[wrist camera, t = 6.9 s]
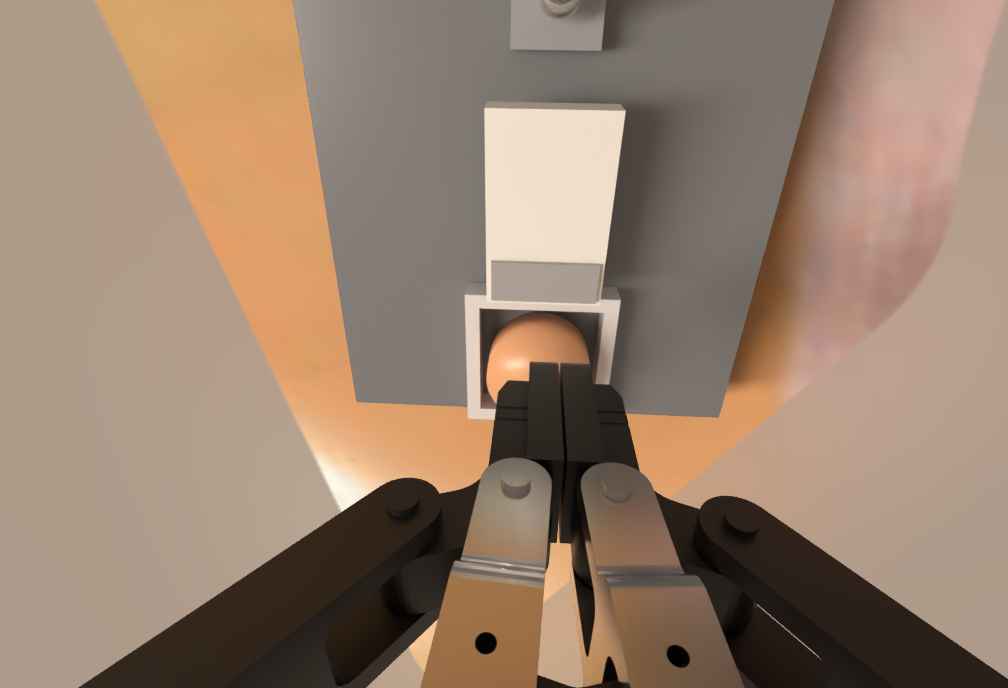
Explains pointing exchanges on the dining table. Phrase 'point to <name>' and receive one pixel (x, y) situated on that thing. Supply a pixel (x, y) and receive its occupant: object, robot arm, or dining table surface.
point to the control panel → (638, 193)
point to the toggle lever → (559, 8)
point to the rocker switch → (549, 199)
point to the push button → (532, 347)
